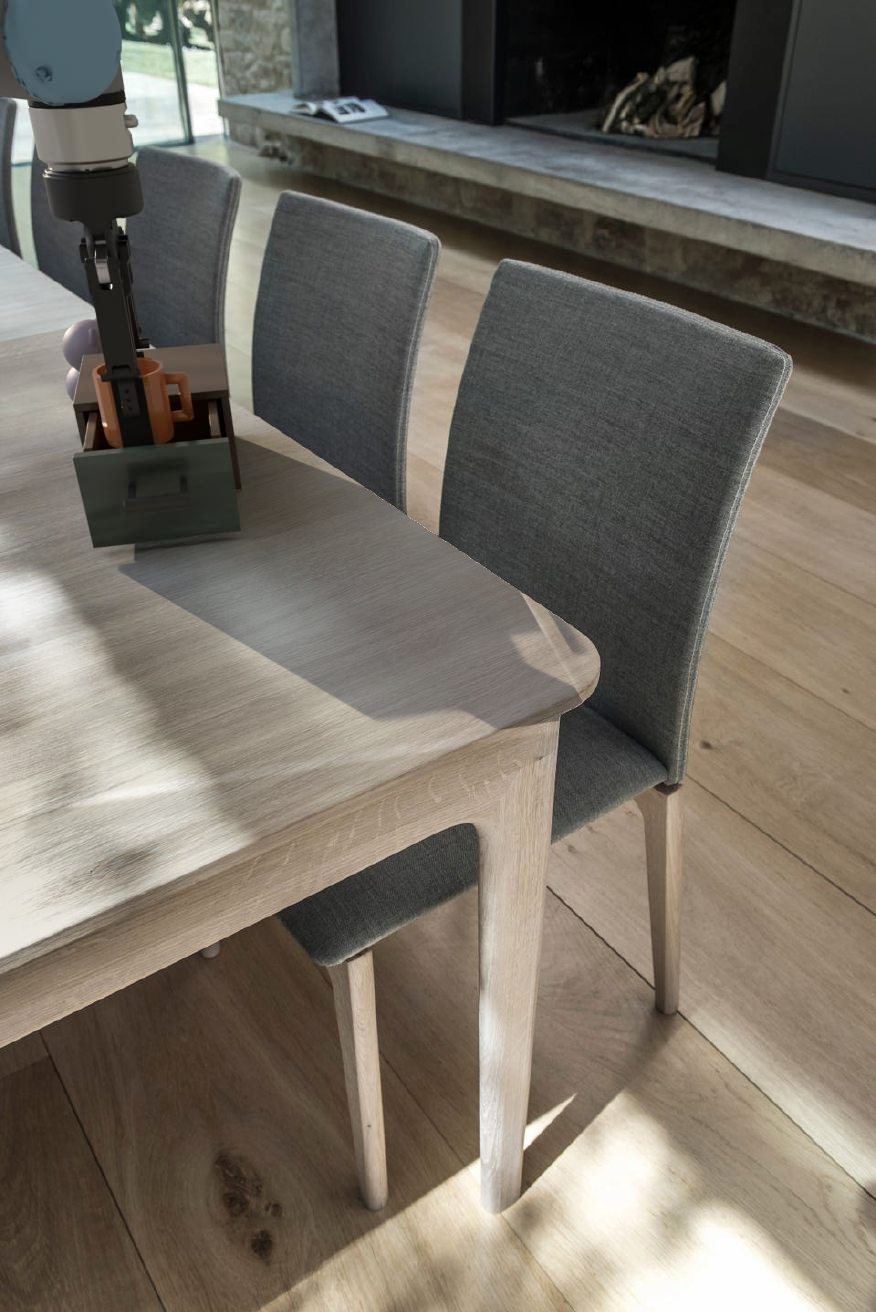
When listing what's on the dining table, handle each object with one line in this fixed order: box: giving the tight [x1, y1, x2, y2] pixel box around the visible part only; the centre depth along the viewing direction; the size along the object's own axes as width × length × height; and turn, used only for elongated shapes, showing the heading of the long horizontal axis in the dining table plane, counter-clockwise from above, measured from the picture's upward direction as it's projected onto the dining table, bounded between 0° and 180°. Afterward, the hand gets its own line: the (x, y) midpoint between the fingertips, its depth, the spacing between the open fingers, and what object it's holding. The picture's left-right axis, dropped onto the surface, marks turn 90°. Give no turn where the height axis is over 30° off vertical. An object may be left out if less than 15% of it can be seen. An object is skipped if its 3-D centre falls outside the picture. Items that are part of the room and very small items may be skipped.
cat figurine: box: [61, 317, 103, 402], centre depth 121 cm, size 8×8×12 cm
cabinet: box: [72, 342, 243, 491], centre depth 110 cm, size 16×15×11 cm
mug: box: [92, 358, 194, 448], centre depth 96 cm, size 8×6×6 cm
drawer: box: [72, 399, 242, 549], centre depth 98 cm, size 19×13×9 cm
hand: (140, 433), depth 98 cm, fingers closed on mug, 6 cm apart
